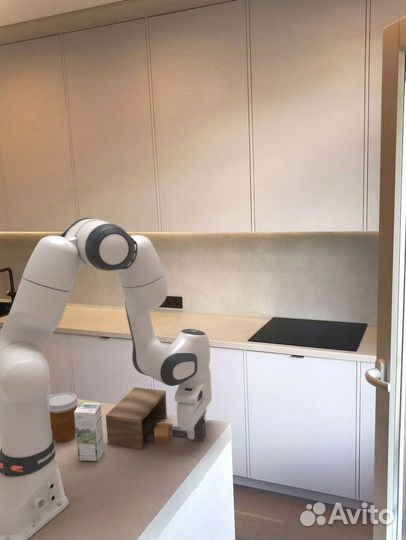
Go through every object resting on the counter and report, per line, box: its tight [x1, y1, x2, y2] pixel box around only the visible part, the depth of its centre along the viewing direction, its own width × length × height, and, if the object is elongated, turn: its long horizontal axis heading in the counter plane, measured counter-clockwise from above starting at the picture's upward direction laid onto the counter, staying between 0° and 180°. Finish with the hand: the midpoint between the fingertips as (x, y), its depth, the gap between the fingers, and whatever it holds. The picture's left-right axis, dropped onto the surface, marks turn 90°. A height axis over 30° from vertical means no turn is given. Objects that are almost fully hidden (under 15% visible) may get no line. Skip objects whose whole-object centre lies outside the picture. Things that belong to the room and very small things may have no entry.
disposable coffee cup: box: [49, 392, 80, 443], centre depth 143 cm, size 10×10×12 cm
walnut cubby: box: [105, 387, 168, 450], centre depth 145 cm, size 19×10×9 cm, turn 162°
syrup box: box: [74, 402, 105, 462], centre depth 132 cm, size 6×6×14 cm
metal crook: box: [145, 419, 207, 444], centre depth 140 cm, size 7×16×5 cm, turn 72°
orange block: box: [154, 421, 174, 444], centre depth 141 cm, size 4×4×4 cm
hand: (196, 429), depth 141 cm, fingers open, 8 cm apart
